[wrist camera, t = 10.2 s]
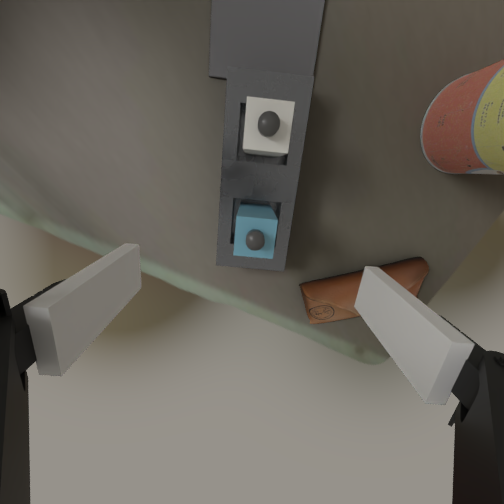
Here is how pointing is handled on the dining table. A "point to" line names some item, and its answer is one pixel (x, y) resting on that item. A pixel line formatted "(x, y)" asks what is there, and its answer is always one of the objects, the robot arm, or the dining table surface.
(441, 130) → the canned food
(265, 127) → the white knobbed block
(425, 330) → the robot arm
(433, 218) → the dining table surface
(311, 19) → the mat
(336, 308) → the sunglasses case
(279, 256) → the strip
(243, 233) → the plug
